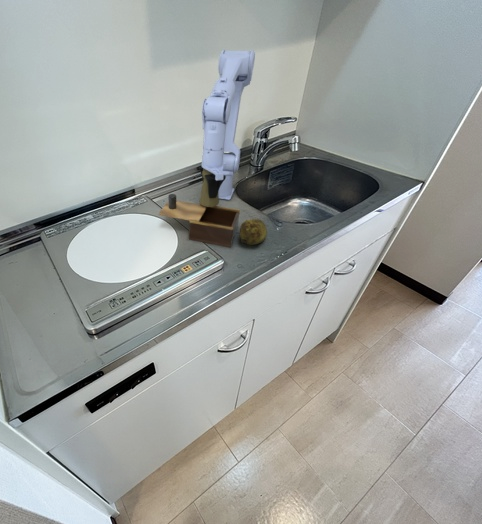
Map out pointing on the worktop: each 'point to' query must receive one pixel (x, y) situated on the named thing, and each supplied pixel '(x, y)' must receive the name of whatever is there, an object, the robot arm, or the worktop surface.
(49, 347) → the worktop surface
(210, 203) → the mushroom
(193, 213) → the sliding lid
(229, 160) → the robot arm
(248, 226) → the potato
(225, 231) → the box
